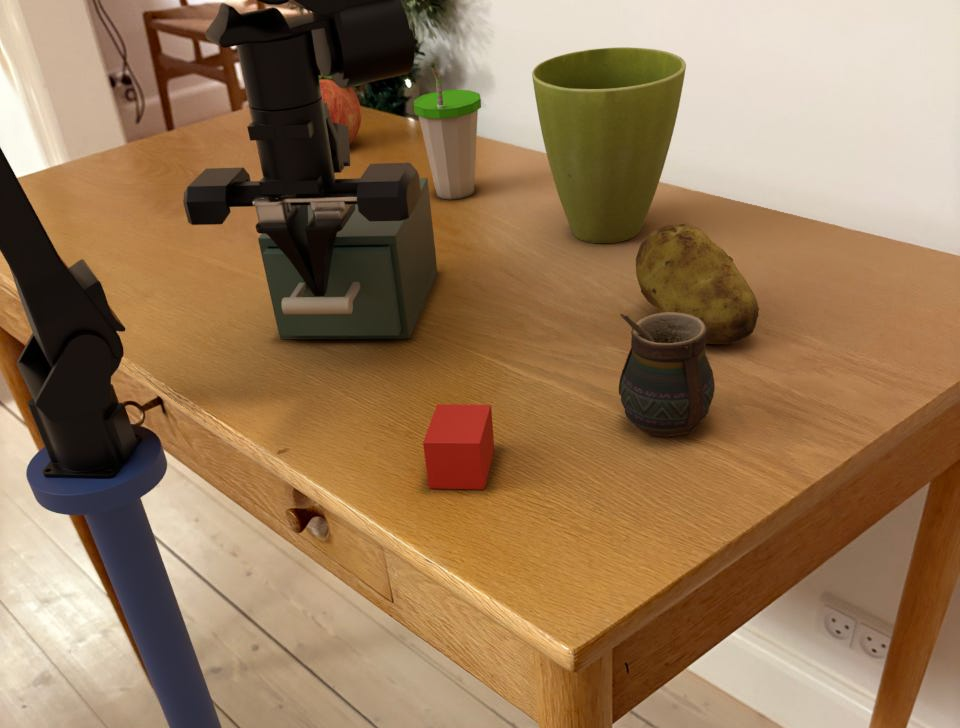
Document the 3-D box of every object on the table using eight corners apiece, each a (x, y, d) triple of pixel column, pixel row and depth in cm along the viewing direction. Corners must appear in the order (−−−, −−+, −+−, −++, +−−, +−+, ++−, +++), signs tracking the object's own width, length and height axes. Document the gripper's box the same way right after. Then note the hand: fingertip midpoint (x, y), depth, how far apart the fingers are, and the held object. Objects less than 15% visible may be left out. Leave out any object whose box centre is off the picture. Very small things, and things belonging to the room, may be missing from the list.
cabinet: (409, 339, 97) (395, 235, 90) (279, 339, 99) (257, 238, 92) (437, 274, 107) (427, 177, 101) (320, 275, 110) (303, 181, 103)
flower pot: (705, 236, 109) (717, 67, 99) (582, 271, 105) (580, 98, 95) (629, 196, 120) (632, 39, 109) (514, 226, 115) (505, 66, 105)
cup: (455, 177, 129) (443, 41, 119) (501, 188, 125) (492, 48, 115) (409, 196, 125) (392, 57, 115) (455, 209, 121) (441, 65, 111)
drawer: (387, 361, 92) (374, 274, 87) (264, 361, 94) (244, 276, 89) (427, 275, 105) (418, 195, 100) (318, 276, 107) (304, 198, 102)
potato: (673, 366, 89) (678, 274, 84) (623, 306, 98) (625, 220, 93) (765, 349, 90) (775, 257, 85) (707, 291, 99) (713, 205, 94)
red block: (484, 490, 77) (480, 443, 75) (428, 488, 78) (422, 442, 75) (494, 450, 81) (491, 404, 79) (442, 449, 82) (436, 403, 79)
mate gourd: (732, 425, 81) (744, 302, 74) (656, 459, 78) (662, 334, 72) (670, 391, 86) (677, 272, 79) (597, 421, 83) (597, 301, 76)
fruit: (308, 138, 146) (294, 59, 139) (375, 135, 145) (364, 55, 138) (294, 159, 140) (278, 76, 133) (363, 155, 138) (351, 72, 132)
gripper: (423, 67, 85) (442, 256, 95) (207, 77, 88) (248, 259, 98) (393, 107, 77) (418, 309, 87) (157, 116, 80) (208, 310, 90)
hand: (320, 294), depth 91 cm, fingers closed
